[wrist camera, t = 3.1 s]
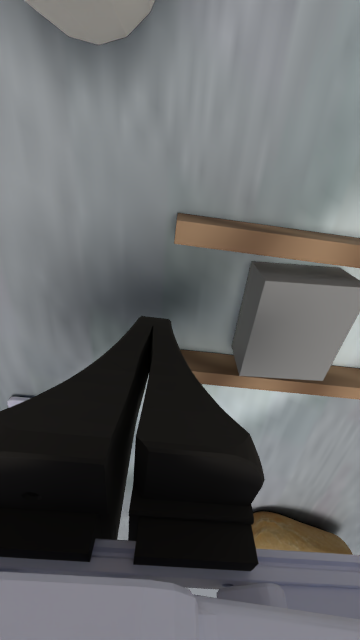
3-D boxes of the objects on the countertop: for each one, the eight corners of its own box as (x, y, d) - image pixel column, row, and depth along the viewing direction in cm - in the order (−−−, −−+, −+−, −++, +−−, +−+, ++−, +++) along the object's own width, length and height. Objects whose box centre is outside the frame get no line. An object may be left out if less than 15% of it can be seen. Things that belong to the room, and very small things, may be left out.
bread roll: (306, 545, 36) (334, 632, 30) (220, 525, 33) (229, 619, 26) (358, 521, 32) (405, 618, 25) (264, 496, 28) (290, 599, 21)
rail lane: (160, 364, 18) (155, 404, 15) (178, 202, 12) (177, 213, 9) (427, 391, 19) (473, 433, 16) (557, 255, 13) (666, 281, 10)
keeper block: (230, 344, 17) (239, 375, 14) (250, 259, 14) (265, 280, 11) (302, 348, 17) (322, 381, 15) (337, 266, 14) (371, 288, 11)
